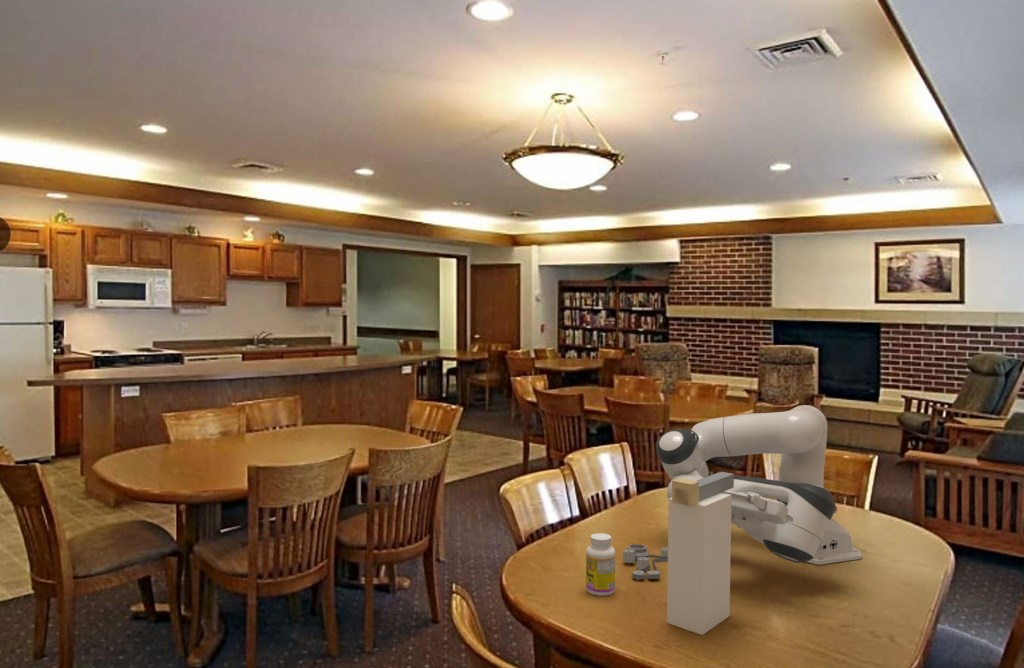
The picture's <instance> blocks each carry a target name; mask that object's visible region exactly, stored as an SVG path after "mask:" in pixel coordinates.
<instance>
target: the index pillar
mask: <svg viewBox="0 0 1024 668" xmlns="http://www.w3.org/2000/svg"><path fill="white" fill-rule="evenodd" d="M667 516H668V518H667V519H668V520H667V521H668V522H667V524H668V528H667V531H668V532H667V547H668V562H667V592H666V593H667V597H666V598H667V599H666V602H667V603H666V605H667V606H666V608H667V609H666V611H667V612H666V623H667V624H669V625H672V626H675V627H678V628H681V629H683V630H686V631H689V632H692V633H695V634H698V635H701V636H703V635H705V634H706V633H707V632H709V631H711V630H712V629H713V628H714V627H716V626H718V625H720V623H722V622H723V621H725V620H727V618H729V617H730V613H731V612H730V610H731V607H730V606H731V605H730V603H731V602H730V601H731V556H732V555H731V551H732V550H731V549H732V548H731V546H732V544H731V543H732V542H731V541H732V539H731V537H732V523H731V495H730V494H725V493H719V494H716V495H714V496H711V497H709V498H706V499H704V500H701V501H699V504H696V505H694V506H687V505H683V504H678V503H673V502H672V498H670V499H669V500H668V515H667Z"/></svg>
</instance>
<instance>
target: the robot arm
mask: <svg viewBox="0 0 1024 668" xmlns="http://www.w3.org/2000/svg"><path fill="white" fill-rule="evenodd" d="M827 440H828V421H827V417H826V416H825V415H824V413H823V412H822V411H821V410H819V409H818V408H817V407H816V406H815V407H814V406H812V405H806V404H803V405H797V406H795V407H793V408H792V409H790V410H786V411H777V412H776V411H775V412H762V413H761V412H757V413H755V412H754V413H753V412H752V413H746V414H738V415H730V416H729V415H728V416H724V417H723V416H722V417H716V418H711V419H708V420H705V421H701V422H698V423H696V424H695V425H694V426H692V428H691V429H689V428H682V429H681V428H676V429H671V430H668V431H666V432H665V433H663V434H662V435H661V436H659V438H658V439H657V441H656V442H655V450H656V454H657V457H658V460H659V461H660V463H661V464H662V467H663V469H664V471H665V473H666V474H667V476H668V477H669V478H670V482H669V484H668V486H667V489H666V490H667V491H666V496H667V499H668V501H669V499H670V498H672V481H673V480H676V479H679V478H682V479H687V480H692V481H697V480H699V479H702V478H705V477H708V476H711V475H712V474H711V471H710V468H709V467H708V465H707V461H708V460H710V459H713V458H715V457H716V458H717V457H719V458H723V457H724V458H725V457H726V458H727V457H738V456H747V455H759V454H767V455H768V454H770V455H772V454H774V455H776V454H777V455H778V454H779V455H781V457H780V463H779V469H778V480H775V479H767V478H762V477H753V476H745V475H744V476H743V475H737V476H736V475H734V488H731V489H729V490H726V491H724V492H721V493H725V494H730V495H731V525H734V526H736V527H737V528H739V529H742V530H743V531H744V532H746V533H747V534H748V535H749V536H750V537H751V538H753V539H754V540H756V541H757V542H758V543H761V544H763V545H764V546H765V547H766V548H767V550H769V551H770V552H771V553H772V554H774V555H775V556H776V555H777V556H778V557H780V558H782V559H783V560H787V561H789V562H791V563H797V564H799V563H800V564H801V563H810V564H813V565H817V566H818V565H827V564H833V563H839V562H840V563H841V562H848V561H855V560H861V559H862V558H863V557H862V552H861V551H860V550H858V548H855V547H854V546H853V542H852V536H851V533H850V532H849V531H848V530H847V529H846V528H845V527H844V526H843V525H841V524H840V523H839V522H838V521H837V520H836V519H834V518H833V516H834V514H836V513H837V512H838V507H837V505H836V502H835V500H834V497H833V495H832V493H831V492H830V491H829V490H827V489H826V488H824V482H825V481H824V475H825V465H826V464H825V463H826V452H827V442H828V441H827Z"/></svg>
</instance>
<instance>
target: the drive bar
mask: <svg viewBox="0 0 1024 668" xmlns="http://www.w3.org/2000/svg"><path fill="white" fill-rule="evenodd" d="M734 477H735V474H734V473H729V472H724V471H718V472H716V473H713V474H711V476H708V477H705V478H702V479H699V480H697V481H692V480H687V479H682V478H679V479H676V480H673V481H672V502H673V503H678V504H683V505H687V506H694V505H696V504H699V501H701V500H704V499H706V498H709V497H711V496H714V495H716V494H719V493H721V492H724V491H726V490H729V489H731V488H734Z"/></svg>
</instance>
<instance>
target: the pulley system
mask: <svg viewBox="0 0 1024 668" xmlns="http://www.w3.org/2000/svg"><path fill="white" fill-rule="evenodd" d="M650 558H653V559H652V562H651V561H650V560H651V559H650ZM622 562H625V563H626V564H627V563H629V564H630V563H631V564H632V563H633V564H634V562H636V563H635V564H636V569H637V570H633V571H631V577H632V578H633V579H635V580H636V581H641V580H642V579H643V580H644V579H647V580H649V579H650V580H656V579H660V577H661V576H660V575H661V574H660V573H661V572H660V571H659V570H658V567H657V566H656V564H655V563H666V562H667V563H668V546H664V547H663V546H662V547H661V548H660V555H656V554H649V551H648V545H645V544H638V543H633V544H629V545H628V547H627V548H626V549H623V550H622ZM650 562H651V563H652V566H653V567H654V568H653V569H654V570H650V568H651V565H650ZM645 572H646V574H645Z"/></svg>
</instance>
